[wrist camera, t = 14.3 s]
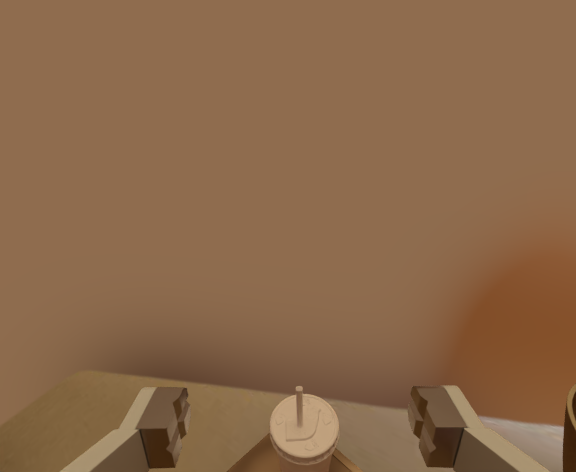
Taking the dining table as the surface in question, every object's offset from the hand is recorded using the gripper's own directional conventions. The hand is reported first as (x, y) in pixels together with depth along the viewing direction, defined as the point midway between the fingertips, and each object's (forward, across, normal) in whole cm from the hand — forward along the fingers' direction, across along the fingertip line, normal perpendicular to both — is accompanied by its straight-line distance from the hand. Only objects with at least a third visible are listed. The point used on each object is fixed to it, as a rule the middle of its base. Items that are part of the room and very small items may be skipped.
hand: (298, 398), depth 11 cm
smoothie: (+12, -1, +26) cm, 28 cm away
